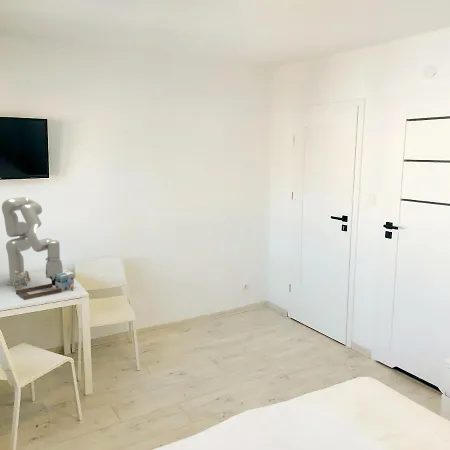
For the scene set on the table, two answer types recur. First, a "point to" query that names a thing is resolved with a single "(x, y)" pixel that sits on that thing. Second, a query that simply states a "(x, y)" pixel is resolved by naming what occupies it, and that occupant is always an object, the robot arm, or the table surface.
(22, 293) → the mat
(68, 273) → the light bulb box
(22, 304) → the table surface
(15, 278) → the unicorn figurine
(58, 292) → the guide channel
